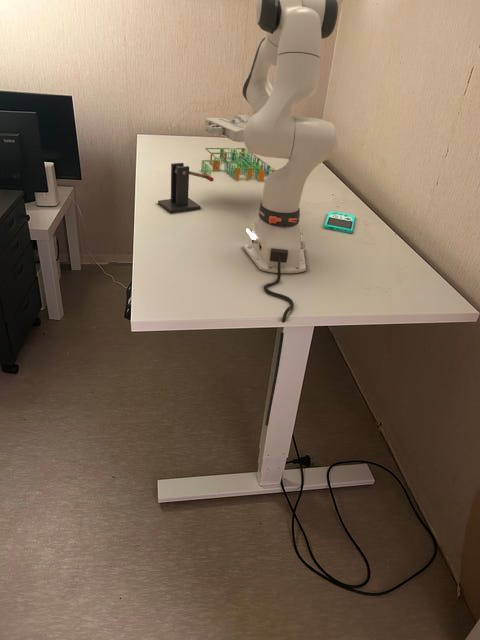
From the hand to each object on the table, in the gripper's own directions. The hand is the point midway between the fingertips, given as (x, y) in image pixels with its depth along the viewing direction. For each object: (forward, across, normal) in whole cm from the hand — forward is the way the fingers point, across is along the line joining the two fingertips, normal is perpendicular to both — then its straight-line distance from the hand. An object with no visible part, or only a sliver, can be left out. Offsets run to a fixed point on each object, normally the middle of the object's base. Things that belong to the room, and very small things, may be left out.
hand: (207, 129), depth 158 cm
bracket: (+10, 0, +26) cm, 28 cm away
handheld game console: (-38, +34, +26) cm, 57 cm away
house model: (-34, -34, +26) cm, 55 cm away
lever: (+5, 0, +16) cm, 16 cm away
